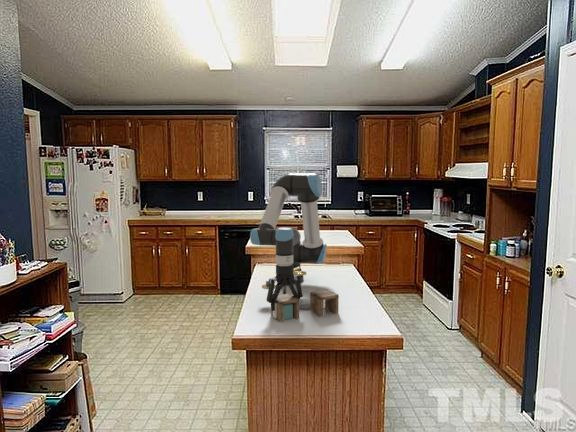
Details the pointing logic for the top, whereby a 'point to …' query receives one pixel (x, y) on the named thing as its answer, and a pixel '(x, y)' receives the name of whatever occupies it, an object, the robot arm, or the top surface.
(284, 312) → the block
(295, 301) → the cover
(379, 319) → the top surface
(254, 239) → the robot arm
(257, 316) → the top surface
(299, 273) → the balance
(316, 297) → the cover
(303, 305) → the dish
